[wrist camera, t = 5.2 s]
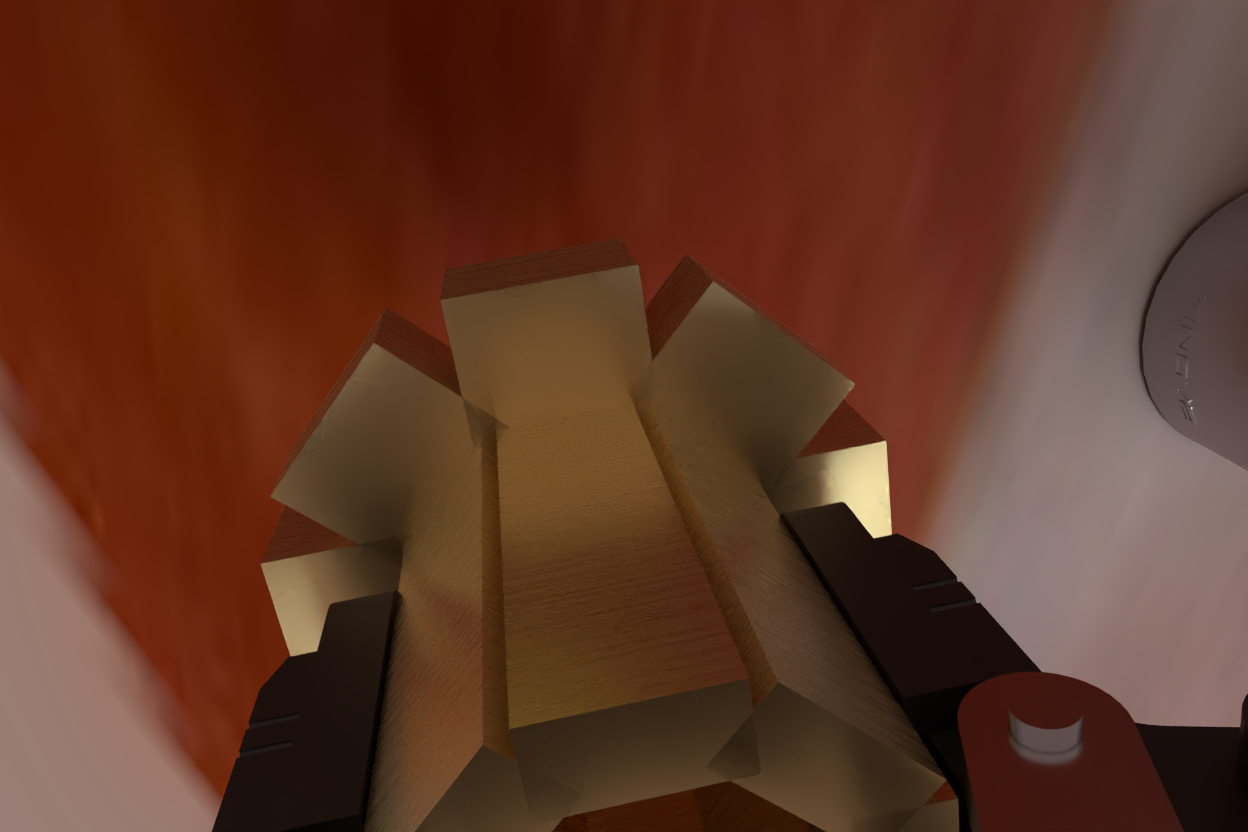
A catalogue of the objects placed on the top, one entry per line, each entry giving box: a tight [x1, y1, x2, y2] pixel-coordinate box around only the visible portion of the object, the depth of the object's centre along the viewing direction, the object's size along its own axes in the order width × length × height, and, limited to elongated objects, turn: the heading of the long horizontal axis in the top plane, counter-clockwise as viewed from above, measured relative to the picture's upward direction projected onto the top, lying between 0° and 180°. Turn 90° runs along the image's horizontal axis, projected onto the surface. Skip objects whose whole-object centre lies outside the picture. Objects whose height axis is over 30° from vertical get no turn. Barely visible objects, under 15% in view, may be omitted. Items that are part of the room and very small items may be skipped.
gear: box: [261, 238, 959, 832], centre depth 11 cm, size 8×8×7 cm
